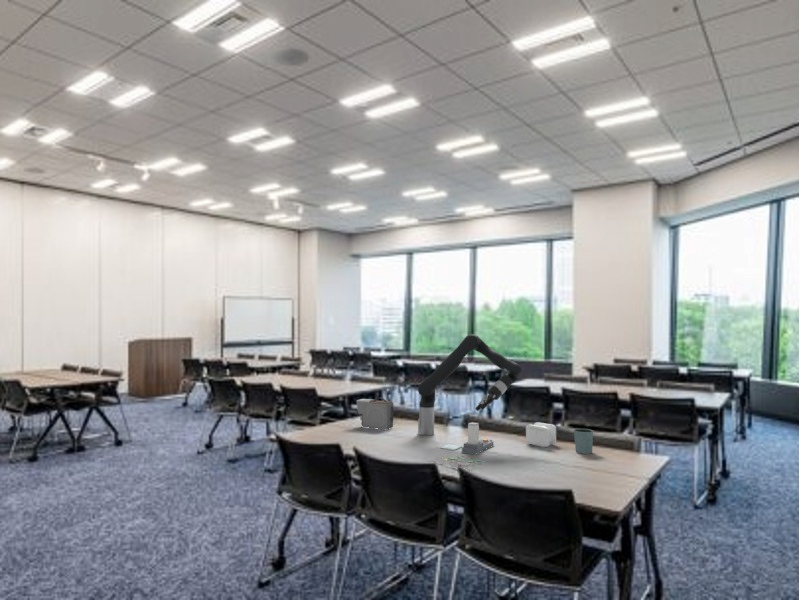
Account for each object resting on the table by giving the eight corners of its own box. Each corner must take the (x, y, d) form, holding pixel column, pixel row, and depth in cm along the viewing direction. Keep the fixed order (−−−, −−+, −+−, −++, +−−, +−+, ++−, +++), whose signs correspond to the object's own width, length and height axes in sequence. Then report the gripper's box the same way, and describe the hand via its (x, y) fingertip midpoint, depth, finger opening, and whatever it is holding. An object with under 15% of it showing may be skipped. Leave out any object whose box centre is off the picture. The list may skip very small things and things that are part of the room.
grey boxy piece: (363, 424, 373) (363, 380, 374) (394, 427, 364) (395, 382, 365) (354, 427, 362) (355, 382, 363) (387, 430, 353) (387, 384, 354)
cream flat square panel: (423, 460, 282) (423, 457, 282) (464, 452, 300) (464, 449, 300) (464, 473, 258) (464, 470, 258) (506, 464, 276) (506, 461, 276)
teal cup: (593, 455, 291) (592, 432, 292) (573, 453, 295) (573, 431, 295) (593, 450, 301) (593, 429, 301) (574, 449, 304) (574, 427, 305)
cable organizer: (557, 445, 313) (557, 425, 314) (547, 448, 306) (547, 427, 306) (535, 441, 324) (535, 421, 325) (525, 444, 317) (525, 424, 317)
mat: (440, 448, 306) (440, 447, 306) (447, 445, 313) (447, 444, 313) (454, 450, 301) (454, 449, 301) (461, 447, 308) (461, 446, 308)
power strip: (462, 452, 296) (462, 444, 297) (485, 442, 322) (485, 434, 322) (475, 454, 292) (475, 446, 292) (497, 443, 317) (497, 436, 317)
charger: (468, 446, 299) (468, 423, 299) (471, 445, 302) (471, 422, 303) (475, 448, 296) (475, 424, 297) (478, 446, 300) (478, 423, 300)
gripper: (488, 387, 323) (470, 405, 317) (497, 383, 310) (478, 402, 304) (497, 396, 322) (479, 415, 317) (506, 393, 309) (488, 412, 303)
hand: (479, 408), depth 310 cm, fingers open, 8 cm apart
